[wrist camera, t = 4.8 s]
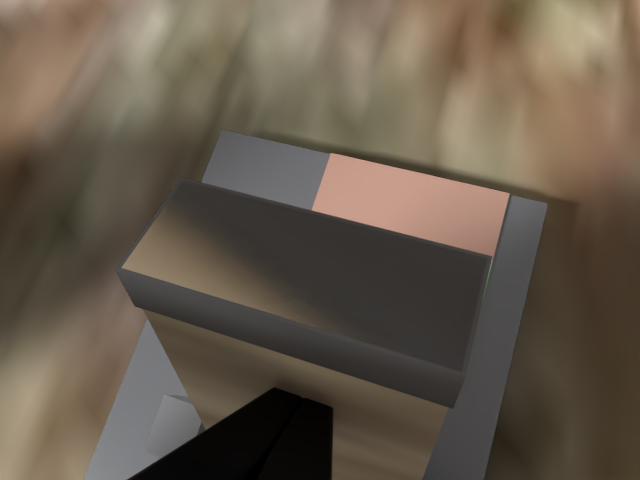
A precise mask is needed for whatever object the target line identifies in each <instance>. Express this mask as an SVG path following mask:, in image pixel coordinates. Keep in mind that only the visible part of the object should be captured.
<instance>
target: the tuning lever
mask: <svg viewBox="0 0 640 480" xmlns="http://www.w3.org/2000/svg"><path fill="white" fill-rule="evenodd" d="M491 260H492V256H489V255H485V254H481V253H477V252H474V251H470V250H466V249H462V248H458V247H454V246H450V245H446V244H442V243H438V242H434V241H430V240H426V239H422V238H418V237H415V236H411V235H407V234H403V233H399V232H395V231H391V230H387V229H383V228H379V227H375V226H371V225H367V224H363V223H359V222H355V221H352V220H348V219H344V218H340V217H336V216H332V215H328V214H324V213H320V212H316V211H312V210H308V209H304V208H300V207H296V206H293V205H289V204H285V203H281V202H277V201H273V200H269V199H265V198H261V197H257V196H253V195H249V194H245V193H241V192H237V191H233V190H230V189H226V188H222V187H218V186H214V185H210V184H206V183H202V182H198V181H194V180H190V179H186V178H182V177H181V179H180V180H179V181H178V183H177V184H176V186H175V187H174V188H173V190H172V191H171V193H170V194H169V195H168V197H167V198H166V200H165V201H164V202H163V204H162V205H161V207H160V208H159V209H158V211H157V212H156V214H155V215H154V216H153V218H152V219H151V221H150V222H149V223H148V225H147V226H146V228H145V229H144V230H143V232H142V233H141V235H140V236H139V237H138V239H137V240H136V242H135V243H134V244H133V246H132V247H131V249H130V250H129V251H128V253H127V254H126V256H125V257H124V258H123V260H122V261H121V263H120V264H119V265H118V267H117V268H116V272H117V274H118V276H119V278H120V280H121V282H122V283H123V285H124V287H125V289H126V291H127V293H128V294H129V296H130V298H131V300H132V302H133V304H134V306H136V307H139V308H142V309H143V310H144V312H145V314H146V316H147V318H148V320H149V322H150V324H151V326H152V328H153V330H154V331H155V333H156V335H157V337H158V339H159V341H160V343H161V345H162V347H163V349H164V351H165V352H166V354H167V356H168V358H169V360H170V362H171V364H172V366H173V368H174V370H175V372H176V374H177V375H178V377H179V379H180V381H181V383H182V385H183V387H184V389H185V391H186V393H187V395H188V396H189V398H190V400H191V402H192V404H193V406H194V408H195V410H196V412H197V414H198V416H199V418H200V419H201V421H202V423H203V425H204V427H205V429H208V428H209V427H211V426H213V425H214V424H216V423H217V422H219V421H221V420H222V419H224V418H225V417H227V416H228V415H230V414H232V413H233V412H235V411H236V410H238V409H240V408H241V407H243V406H244V405H246V404H247V403H249V402H251V401H252V400H254V399H255V398H257V397H259V396H260V395H262V394H263V393H265V392H267V391H268V390H270V389H271V388H273V387H275V388H278V389H281V390H284V391H287V392H290V393H293V394H296V395H298V396H300V397H301V398H302V399H303V398H307V399H310V400H313V401H316V402H319V403H322V404H325V405H328V406H330V407H332V408H333V409H334V420H333V460H332V480H425V479H424V478H423V476H424V473H425V470H426V467H427V465H428V462H429V459H430V456H431V454H432V451H433V448H434V445H435V443H436V440H437V437H438V434H439V432H440V429H441V426H442V423H443V421H444V418H445V415H446V412H447V410H448V408H452V409H453V408H454V406H455V403H456V401H457V398H458V395H459V393H460V390H461V387H462V385H463V382H464V380H465V376H466V372H467V368H468V363H469V359H470V354H471V350H472V345H473V341H474V336H475V332H476V327H477V323H478V318H479V314H480V310H481V305H482V301H483V296H484V292H485V287H486V283H487V278H488V274H489V269H490V265H491Z"/></svg>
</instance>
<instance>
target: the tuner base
mask: <svg viewBox="0 0 640 480" xmlns="http://www.w3.org/2000/svg"><path fill="white" fill-rule="evenodd" d="M201 182H202V183H206V184H210V185H214V186H218V187H222V188H226V189H230V190H233V191H237V192H241V193H245V194H249V195H253V196H257V197H261V198H265V199H269V200H273V201H277V202H281V203H285V204H289V205H293V206H296V207H300V208H304V209H308V210H312V211H316V212H320V213H324V214H328V215H332V216H336V217H340V218H344V219H348V220H352V221H355V222H359V223H363V224H367V225H371V226H375V227H379V228H383V229H387V230H391V231H395V232H399V233H403V234H407V235H411V236H415V237H418V238H422V239H426V240H430V241H434V242H438V243H442V244H446V245H450V246H454V247H458V248H462V249H466V250H470V251H474V252H477V253H481V254H485V255H489V256H492V260H491V265H490V269H489V274H488V278H487V283H486V287H485V292H484V296H483V301H482V305H481V310H480V314H479V318H478V323H477V327H476V332H475V336H474V341H473V345H472V350H471V354H470V359H469V363H468V368H467V372H466V376H465V380H464V382H463V385H462V387H461V390H460V393H459V395H458V398H457V401H456V403H455V406H454V408H453V409H452V408H448V410H447V412H446V415H445V418H444V421H443V423H442V426H441V429H440V432H439V434H438V437H437V440H436V443H435V445H434V448H433V451H432V454H431V456H430V459H429V462H428V465H427V467H426V470H425V473H424V476H423V478H424V479H425V480H484V476H485V472H486V468H487V464H488V459H489V455H490V451H491V446H492V442H493V438H494V433H495V429H496V425H497V421H498V416H499V412H500V408H501V403H502V399H503V395H504V391H505V386H506V382H507V378H508V373H509V369H510V365H511V361H512V356H513V352H514V348H515V343H516V339H517V335H518V330H519V326H520V322H521V318H522V313H523V309H524V305H525V300H526V296H527V292H528V288H529V283H530V279H531V275H532V270H533V266H534V262H535V258H536V253H537V249H538V245H539V240H540V236H541V232H542V227H543V223H544V219H545V215H546V210H547V206H548V203H544V202H539V201H535V200H530V199H526V198H522V197H517V196H513V195H509V194H510V193H506V192H502V191H498V190H493V189H489V188H484V187H480V186H475V185H471V184H467V183H462V182H458V181H453V180H449V179H445V178H440V177H436V176H431V175H427V174H422V173H418V172H414V171H409V170H405V169H400V168H396V167H391V166H387V165H383V164H378V163H374V162H369V161H365V160H361V159H356V158H352V157H347V156H343V155H338V154H334V153H331V154H328V153H323V152H319V151H315V150H310V149H306V148H301V147H297V146H293V145H288V144H284V143H279V142H275V141H271V140H266V139H262V138H257V137H253V136H248V135H244V134H240V133H235V132H231V131H226V130H222V131H221V133H220V136H219V138H218V141H217V143H216V146H215V148H214V151H213V153H212V156H211V158H210V161H209V163H208V166H207V168H206V171H205V174H204V176H203V179H202V181H201ZM205 430H206V429H205V427H204V425H203V423H202V421H201V419H200V418H199V416H198V414H197V412H196V410H195V408H194V406H193V404H192V402H191V400H190V398H189V396H188V395H187V393H186V391H185V389H184V387H183V385H182V383H181V381H180V379H179V377H178V375H177V374H176V372H175V370H174V368H173V366H172V364H171V362H170V360H169V358H168V356H167V354H166V352H165V351H164V349H163V347H162V345H161V343H160V341H159V339H158V337H157V335H156V333H155V331H154V330H153V328H152V326H151V324H150V322H149V320H148V318H147V320H146V323H145V325H144V328H143V330H142V333H141V335H140V338H139V340H138V343H137V346H136V348H135V351H134V353H133V356H132V358H131V361H130V363H129V366H128V368H127V371H126V373H125V376H124V378H123V381H122V383H121V386H120V389H119V391H118V394H117V396H116V399H115V401H114V404H113V406H112V409H111V411H110V414H109V416H108V419H107V421H106V424H105V426H104V429H103V432H102V434H101V437H100V439H99V442H98V444H97V447H96V449H95V452H94V454H93V457H92V459H91V462H90V464H89V467H88V469H87V472H86V475H85V477H84V480H127V479H129V478H130V477H132V476H133V475H135V474H137V473H138V472H140V471H141V470H143V469H145V468H146V467H148V466H149V465H151V464H152V463H154V462H156V461H157V460H159V459H160V458H162V457H164V456H165V455H167V454H168V453H170V452H171V451H173V450H175V449H176V448H178V447H179V446H181V445H183V444H184V443H186V442H187V441H189V440H190V439H192V438H194V437H195V436H197V435H198V434H200V433H202V432H203V431H205Z"/></svg>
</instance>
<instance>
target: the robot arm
mask: <svg viewBox="0 0 640 480" xmlns="http://www.w3.org/2000/svg"><path fill="white" fill-rule="evenodd" d="M333 420H334V409H333V408H332V407H330V406H328V405H325V404H322V403H319V402H316V401H313V400H310V399H307V398H303V399H302V398H301V397H300V396H298V395H296V394H293V393H290V392H287V391H284V390H281V389H278V388H275V387H273V388H271V389H270V390H268V391H267V392H265V393H263V394H262V395H260V396H259V397H257V398H255V399H254V400H252V401H251V402H249V403H247V404H246V405H244V406H243V407H241V408H240V409H238V410H236V411H235V412H233V413H232V414H230V415H228V416H227V417H225V418H224V419H222V420H221V421H219V422H217V423H216V424H214V425H213V426H211V427H209V428H208V429H206V430H205V431H203V432H202V433H200V434H198V435H197V436H195V437H194V438H192V439H190V440H189V441H187V442H186V443H184V444H183V445H181V446H179V447H178V448H176V449H175V450H173V451H171V452H170V453H168V454H167V455H165V456H164V457H162V458H160V459H159V460H157V461H156V462H154V463H152V464H151V465H149V466H148V467H146V468H145V469H143V470H141V471H140V472H138V473H137V474H135V475H133V476H132V477H130V478H129V479H127V480H332V460H333Z"/></svg>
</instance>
